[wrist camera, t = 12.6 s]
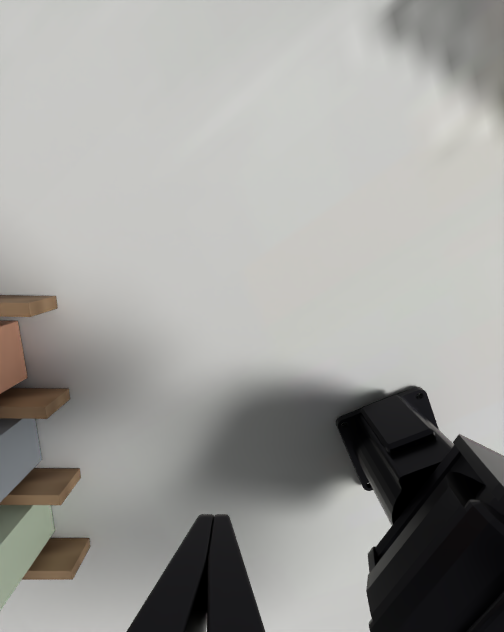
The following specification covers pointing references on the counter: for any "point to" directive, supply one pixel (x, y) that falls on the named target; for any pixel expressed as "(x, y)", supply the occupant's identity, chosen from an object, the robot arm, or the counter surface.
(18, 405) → the wooden slotted rack
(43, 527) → the sage key
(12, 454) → the grey tall block
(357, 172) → the counter surface
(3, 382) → the pink rectangular block
